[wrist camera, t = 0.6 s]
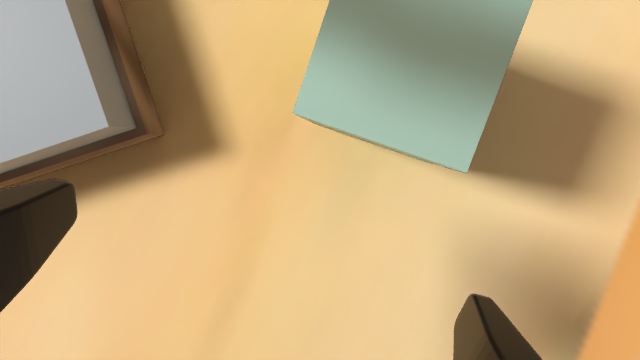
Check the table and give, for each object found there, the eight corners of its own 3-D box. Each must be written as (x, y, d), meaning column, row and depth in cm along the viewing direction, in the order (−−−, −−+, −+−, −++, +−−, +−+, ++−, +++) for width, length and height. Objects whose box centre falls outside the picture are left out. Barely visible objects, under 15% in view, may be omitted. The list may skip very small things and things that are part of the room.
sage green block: (421, 160, 23) (466, 173, 14) (315, 123, 23) (292, 113, 14) (461, 51, 22) (537, -11, 13) (352, 14, 22) (352, -71, 13)
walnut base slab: (168, 134, 24) (147, 133, 22) (-3, 191, 25) (-41, 196, 23) (103, -57, 23) (74, -81, 21) (-69, 9, 24) (-117, -6, 22)
